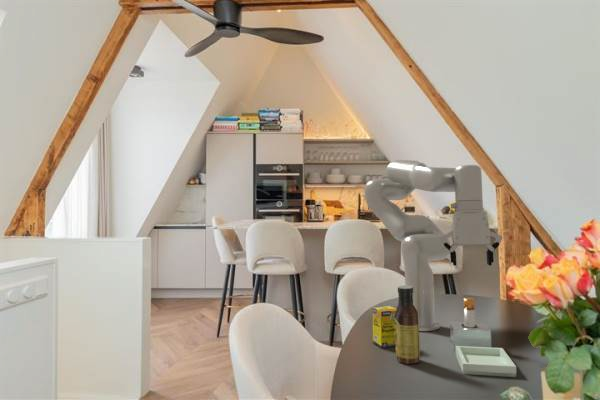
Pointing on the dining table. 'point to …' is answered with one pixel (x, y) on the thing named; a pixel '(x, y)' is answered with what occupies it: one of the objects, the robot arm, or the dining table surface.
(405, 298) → the sauce bottle
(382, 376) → the dining table surface
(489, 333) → the block
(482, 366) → the tray
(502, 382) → the dining table surface
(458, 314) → the dining table surface
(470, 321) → the pin
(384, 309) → the supplement box
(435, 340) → the dining table surface
